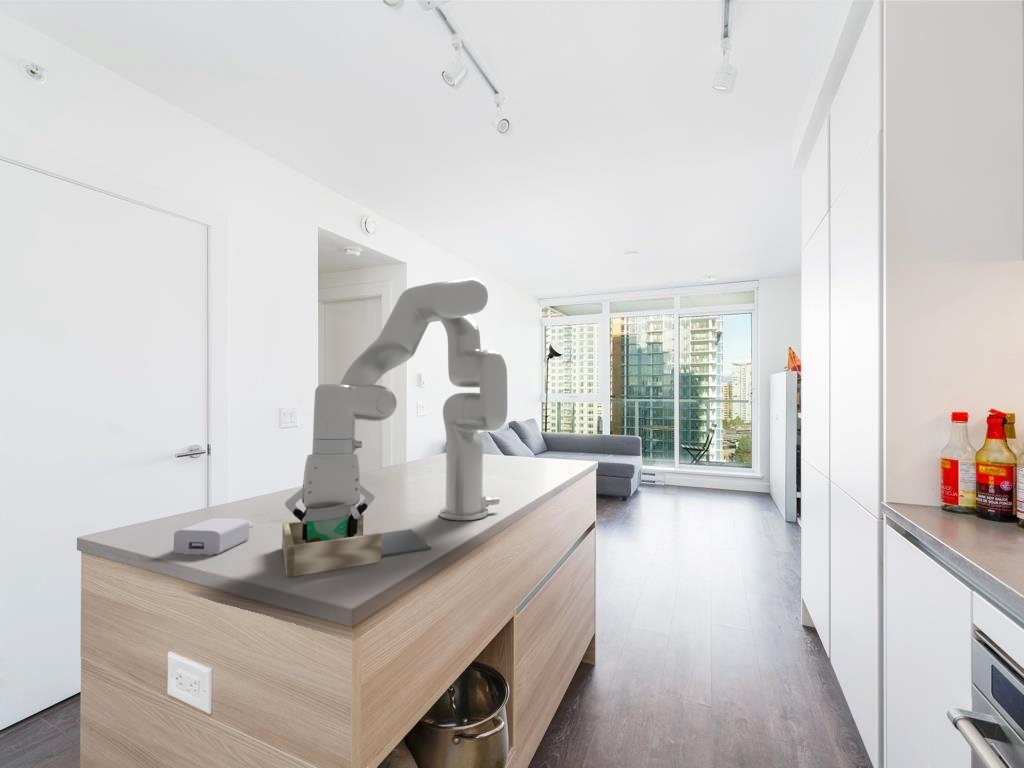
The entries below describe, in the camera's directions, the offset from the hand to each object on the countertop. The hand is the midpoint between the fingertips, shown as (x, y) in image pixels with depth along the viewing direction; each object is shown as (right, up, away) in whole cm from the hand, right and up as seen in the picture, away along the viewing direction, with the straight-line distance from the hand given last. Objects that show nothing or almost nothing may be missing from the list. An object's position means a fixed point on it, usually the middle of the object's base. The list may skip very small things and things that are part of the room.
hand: (329, 540), depth 87 cm
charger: (-25, -3, +7) cm, 26 cm away
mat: (+11, -3, +8) cm, 14 cm away
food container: (+1, -3, +1) cm, 3 cm away
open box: (0, -3, 0) cm, 3 cm away
